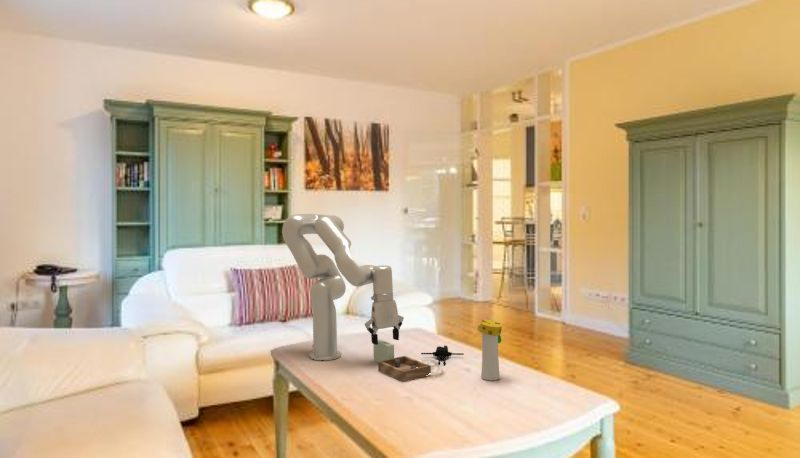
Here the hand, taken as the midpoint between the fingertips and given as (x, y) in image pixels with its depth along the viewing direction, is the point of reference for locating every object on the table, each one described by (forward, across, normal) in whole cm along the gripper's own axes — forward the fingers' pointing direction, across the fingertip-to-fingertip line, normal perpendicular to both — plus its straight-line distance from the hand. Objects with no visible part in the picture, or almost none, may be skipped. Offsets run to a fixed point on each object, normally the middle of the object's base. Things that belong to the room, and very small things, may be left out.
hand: (385, 341), depth 201 cm
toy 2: (+10, +19, -37) cm, 43 cm away
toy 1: (+10, +20, -10) cm, 24 cm away
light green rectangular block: (+8, -1, +1) cm, 8 cm away
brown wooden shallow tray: (+9, -2, -14) cm, 17 cm away
